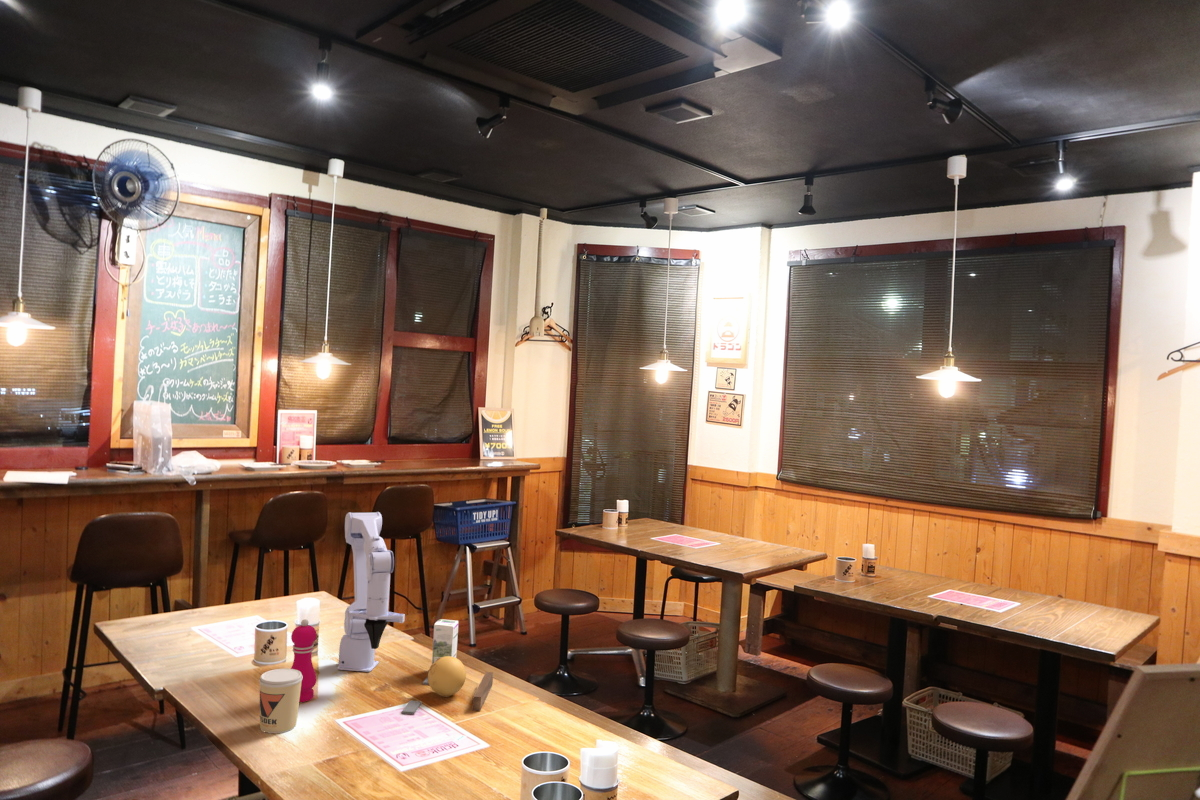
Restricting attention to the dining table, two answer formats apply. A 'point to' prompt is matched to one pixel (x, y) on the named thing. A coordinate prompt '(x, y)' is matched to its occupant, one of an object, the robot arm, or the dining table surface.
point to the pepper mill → (304, 658)
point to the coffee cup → (279, 699)
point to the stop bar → (482, 691)
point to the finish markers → (413, 703)
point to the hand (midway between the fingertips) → (375, 647)
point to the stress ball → (446, 676)
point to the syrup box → (445, 639)
